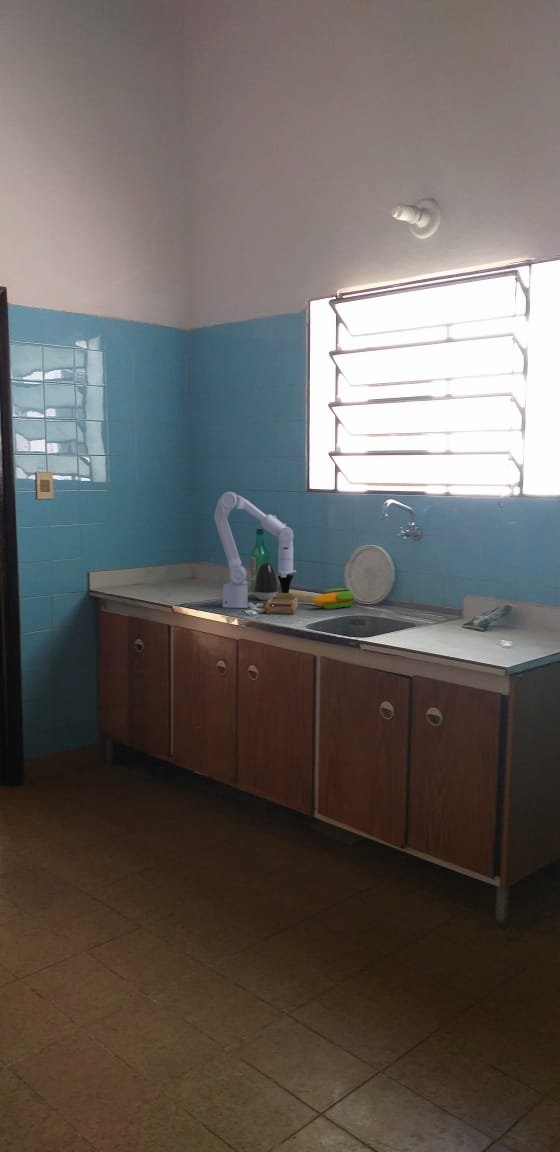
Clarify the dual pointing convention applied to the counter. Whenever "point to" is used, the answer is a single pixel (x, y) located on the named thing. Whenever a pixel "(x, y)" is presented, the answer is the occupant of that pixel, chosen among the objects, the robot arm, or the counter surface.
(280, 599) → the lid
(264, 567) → the dark grey egg shape
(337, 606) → the corn
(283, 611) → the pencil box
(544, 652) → the counter surface
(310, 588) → the counter surface
